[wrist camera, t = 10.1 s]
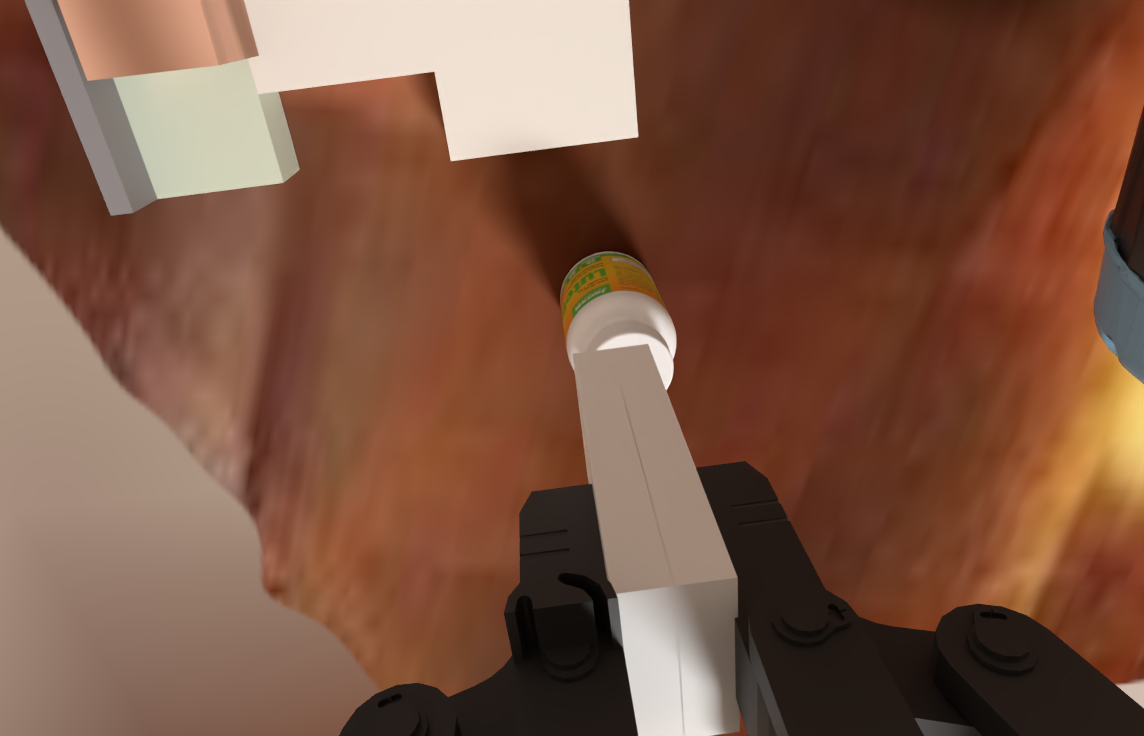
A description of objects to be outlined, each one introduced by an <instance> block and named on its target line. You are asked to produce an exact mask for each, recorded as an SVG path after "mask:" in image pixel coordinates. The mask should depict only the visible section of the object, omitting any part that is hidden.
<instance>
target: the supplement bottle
mask: <svg viewBox="0 0 1144 736" xmlns="http://www.w3.org/2000/svg"><path fill="white" fill-rule="evenodd" d="M560 305H561V313H562V320H563V327H564V333H565V341H566V348H567V353H568V357H569V361H570V363H571V366H572V368H573V369H574V362H573V354H574V353H582V352H589V351H597V350H605V349H612V348H620V347H628V346H635V345H643V344H648V345H649V347H650V350H651V352H652V355H653V358H654V360H655V363H656V366H657V368H658V371H659V373H660V376H661V379H662V381H663V384H664V386H665V389H666V390H667V388H668V386H669V384H670V382H671V380H672V377H673V358H674V355H675V350H676V332H675V328H674V325H673V322H672V320H671V317H670V315H669V313H668V311H667V309H666V307H665V305H664V303H663V301H662V299H661V297H660V295H659V292H658V290H657V288H656V286H655V284H654V282H653V279H652V278H651V276H650V274H649V272H648V271H647V269H646V268H645V267H644V266H643V265H642V264H641V263H640V262H639V261H637V260H636V259H634V258H633V257H631V256H629V255H626V254H623V253H619V252H612V251H606V252H599V253H595V254H592V255H589V256H587V257H585V258H584V259H582V260H581V261H579V262H578V263H577V264H576V265H575V266H574V267H573V268H572V269H571V270H570V271H569V273H568V274H567V276H566V277H565V279H564V282H563V284H562V288H561V294H560ZM574 371H575V370H574Z"/></svg>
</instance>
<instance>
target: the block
mask: <svg viewBox="0 0 1144 736" xmlns="http://www.w3.org/2000/svg"><path fill="white" fill-rule="evenodd" d="M57 1H58V4H59V6H60V9H61V12H62V14H63V17H64V20H65V22H66V25H67V28H68V30H69V33H70V36H71V38H72V41H73V44H74V46H75V49H76V52H77V54H78V57H79V60H80V62H81V65H82V68H83V70H84V73H85V76H86V78H87V81H91V80H99V79H108V78H116V77H125V76H133V75H142V74H150V73H158V72H167V71H175V70H184V69H192V68H201V67H209V66H218V65H222V64H227V63H231V62H235V61H239V60H243V59H248V58H252V57H256V56H259V54H258V50H257V46H256V43H255V39H254V35H253V32H252V28H251V24H250V21H249V17H248V14H247V10H246V6H245V3H244V0H57Z"/></svg>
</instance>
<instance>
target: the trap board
mask: <svg viewBox="0 0 1144 736" xmlns="http://www.w3.org/2000/svg"><path fill="white" fill-rule="evenodd" d="M25 3H26V5H27V8H28V10H29V13H30V15H31V18H32V20H33V23H34V25H35V28H36V30H37V33H38V35H39V38H40V40H41V43H42V45H43V48H44V50H45V53H46V55H47V58H48V60H49V63H50V65H51V68H52V70H53V72H54V75H55V77H56V80H57V82H58V85H59V87H60V90H61V92H62V95H63V97H64V100H65V102H66V105H67V107H68V110H69V112H70V115H71V117H72V120H73V122H74V125H75V127H76V130H77V132H78V135H79V137H80V140H81V142H82V145H83V147H84V150H85V152H86V155H87V157H88V160H89V162H90V165H91V167H92V170H93V172H94V175H95V177H96V180H97V182H98V185H99V187H100V190H101V192H102V195H103V197H104V200H105V202H106V204H107V207H108V209H109V212H110V214H111V216H112V215H120V214H127V213H134V212H136V211H137V210H139V209H141V208H143V207H144V206H146V205H148V204H150V203H151V202H153V201H155V200H157V199H161V198H169V197H176V196H184V195H192V194H200V193H208V192H215V191H223V190H231V189H239V188H246V187H254V186H262V185H270V184H277V183H284V182H285V181H286V180H288V179H289V178H290V177H291V176H292V175H294V174H295V173H296V172H297V171H299V170H300V168H299V165H298V161H297V157H296V154H295V150H294V146H293V143H292V139H291V136H290V132H289V128H288V125H287V121H286V118H285V114H284V110H283V107H282V103H281V99H280V96H279V91H287V90H294V89H302V88H310V87H318V86H326V85H334V84H342V83H349V82H357V81H365V80H373V79H381V78H389V77H396V76H404V75H412V74H420V73H428V72H435V77H436V83H437V88H438V94H439V99H440V104H441V110H442V115H443V121H444V126H445V132H446V137H447V143H448V148H449V153H450V159H451V161H456V160H464V159H472V158H479V157H487V156H495V155H503V154H510V153H518V152H526V151H534V150H541V149H549V148H557V147H565V146H572V145H580V144H588V143H596V142H603V141H611V140H619V139H627V138H635V137H638V127H637V113H636V99H635V84H634V70H633V56H632V41H631V27H630V13H629V0H244V3H245V6H246V10H247V14H248V17H249V21H250V24H251V28H252V32H253V35H254V39H255V43H256V46H257V50H258V54H259V56H256V57H252V58H248V59H243V60H239V61H235V62H231V63H227V64H222V65H218V66H209V67H201V68H192V69H184V70H175V71H167V72H158V73H150V74H142V75H133V76H125V77H116V78H108V79H99V80H91V81H87V78H86V76H85V73H84V70H83V68H82V65H81V62H80V60H79V57H78V54H77V52H76V49H75V46H74V44H73V41H72V38H71V36H70V33H69V30H68V28H67V25H66V22H65V20H64V17H63V14H62V12H61V9H60V6H59V4H58V1H57V0H25Z"/></svg>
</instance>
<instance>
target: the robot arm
mask: <svg viewBox="0 0 1144 736" xmlns="http://www.w3.org/2000/svg"><path fill="white" fill-rule="evenodd" d="M1103 236H1104V244H1105V251H1104V256H1103V261H1102V266H1101V271H1100V276H1099V281H1098V286H1097V291H1096V295H1095V300H1094V317H1095V323H1096V326H1097V329H1098V332H1099V334H1100V336H1101V337H1102V339H1103V341H1104V342H1105V344H1106V345H1107V347H1108V348H1109V350H1110V351H1111V352H1113V353H1114V354H1115V355H1116V356H1117V357H1118V359H1119V361H1120V363H1121V364H1122V366H1123V367H1124V368H1126V369H1127V370H1128V371H1129V372H1130V373H1131V374H1132V375H1133V376H1135V377H1136V378H1137V379H1138V380H1139V381H1141V382H1142V383H1143V384H1144V107H1143V110H1142V114H1141V118H1140V121H1139V125H1138V128H1137V132H1136V136H1135V139H1134V143H1133V147H1132V150H1131V154H1130V158H1129V161H1128V165H1127V169H1126V172H1125V176H1124V179H1123V183H1122V187H1121V190H1120V194H1119V198H1118V201H1117V205H1116V208H1115V209H1114V210H1112V211H1110V213H1109V215H1108V217H1107V219H1106V222H1105V227H1104V232H1103ZM573 362H574V370H575V378H576V386H577V394H578V402H579V410H580V418H581V426H582V434H583V442H584V451H585V459H586V467H587V474H588V480H589V484H586V485H579V486H571V487H564V488H556V489H549V490H541V491H534V492H531V494H530V496H529V498H528V499H527V501H526V503H525V504H524V506H523V508H522V510H521V511H520V513H519V520H520V583H519V585H518V586H517V587H516V588H515V589H514V591H513V592H512V593H511V594H510V595H509V597H508V600H507V604H506V608H505V611H504V616H505V621H506V626H507V631H508V635H509V640H510V645H511V650H512V656H511V658H510V659H509V660H508V662H507V663H506V664H505V665H504V667H503V668H501V669H500V670H499V671H498V672H496V673H495V674H494V675H493V676H492V677H490V678H489V679H487V680H485V681H483V682H481V683H479V684H478V685H476V686H474V687H471V688H469V689H467V690H464V691H462V692H460V693H457V694H455V695H453V696H450V697H447V696H446V695H445V694H443V693H442V692H441V691H440V690H439V689H438V688H435V687H432V686H428V685H424V684H420V683H413V684H403V685H396V686H394V687H391V688H389V689H386V690H384V691H382V692H379V693H377V694H375V695H374V696H372V697H371V698H370V699H369V700H367V701H366V702H365V703H363V704H362V705H361V706H360V707H358V708H357V709H356V710H355V712H354V714H353V715H352V716H351V717H350V719H349V720H348V722H347V723H346V725H345V726H344V727H343V729H342V731H341V733H340V735H339V736H711V735H718V734H725V733H732V732H740V726H739V709H740V712H741V716H742V719H743V722H744V725H745V728H746V731H747V735H748V736H1144V708H1142V707H1141V706H1140V705H1139V704H1138V703H1136V702H1135V701H1134V700H1133V699H1132V698H1130V697H1129V696H1128V695H1127V694H1125V693H1124V692H1123V691H1122V690H1121V689H1120V688H1118V687H1117V686H1116V685H1115V684H1114V683H1112V682H1111V681H1110V680H1109V679H1108V678H1106V677H1105V676H1104V675H1103V674H1102V673H1100V672H1099V671H1098V670H1097V669H1096V668H1094V667H1093V666H1092V665H1091V664H1090V663H1088V662H1087V661H1086V660H1085V659H1084V658H1082V657H1081V656H1080V655H1079V654H1077V653H1076V652H1075V651H1074V650H1073V649H1071V648H1070V647H1069V646H1068V645H1067V644H1065V643H1064V642H1063V641H1062V640H1061V639H1059V638H1058V637H1057V636H1056V635H1055V634H1053V633H1052V632H1051V631H1050V630H1049V629H1047V628H1045V627H1044V626H1042V625H1041V624H1039V623H1038V622H1036V621H1034V620H1033V619H1031V618H1030V617H1028V616H1027V615H1024V614H1021V613H1018V612H1016V611H1013V610H1010V609H1007V608H1004V607H1001V606H992V605H983V604H974V605H968V606H962V607H957V608H955V609H953V610H952V611H950V612H949V613H947V614H946V615H944V616H943V617H942V618H941V620H940V623H939V625H938V627H937V629H936V632H933V631H925V630H917V629H908V628H900V627H893V626H888V625H883V624H878V623H874V622H871V621H869V620H866V619H864V618H861V617H859V616H858V615H857V614H856V613H855V612H854V610H853V609H852V608H851V607H850V606H849V604H848V603H847V602H846V601H844V600H842V599H841V598H839V597H837V596H836V595H834V594H832V593H831V592H829V591H827V590H826V589H825V588H824V586H823V584H822V582H821V580H820V578H819V576H818V575H817V573H816V571H815V569H814V567H813V565H812V563H811V561H810V559H809V557H808V555H807V553H806V552H805V550H804V548H803V546H802V544H801V542H800V540H799V538H798V536H797V534H796V532H795V530H794V529H793V527H792V525H791V523H790V521H788V519H787V515H786V513H785V511H784V509H783V507H782V506H781V504H779V502H778V498H777V496H776V494H775V492H774V490H773V488H772V486H771V485H770V483H769V481H768V479H767V478H766V477H765V476H764V475H762V474H761V473H760V472H758V471H757V470H756V469H754V468H753V467H752V466H751V465H749V464H748V463H747V462H745V461H744V462H736V463H729V464H721V465H714V466H706V467H699V468H695V465H694V462H693V460H692V457H691V454H690V452H689V449H688V447H687V444H686V441H685V439H684V436H683V434H682V431H681V428H680V426H679V423H678V420H677V418H676V415H675V413H674V410H673V407H672V405H671V402H670V400H669V397H668V394H667V392H666V389H665V386H664V384H663V381H662V379H661V376H660V373H659V371H658V368H657V366H656V363H655V360H654V358H653V355H652V352H651V350H650V347H649V345H648V344H643V345H635V346H628V347H620V348H612V349H605V350H597V351H589V352H582V353H574V354H573Z"/></svg>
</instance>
